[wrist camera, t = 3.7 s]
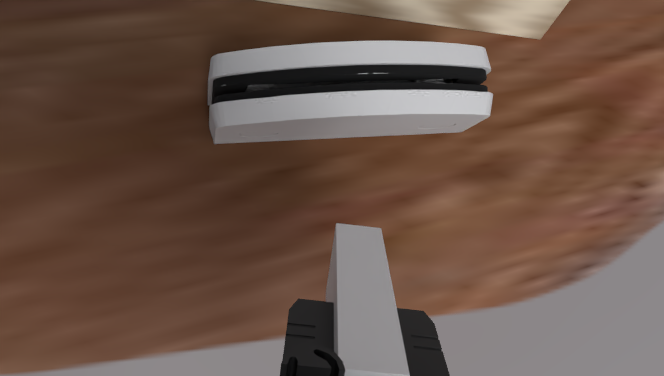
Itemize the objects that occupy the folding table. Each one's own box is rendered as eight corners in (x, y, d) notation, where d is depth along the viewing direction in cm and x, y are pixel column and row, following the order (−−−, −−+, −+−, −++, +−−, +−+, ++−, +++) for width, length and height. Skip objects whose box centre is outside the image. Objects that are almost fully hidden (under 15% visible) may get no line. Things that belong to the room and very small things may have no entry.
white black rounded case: (451, 68, 35) (523, 13, 25) (456, 135, 34) (529, 107, 25) (208, 76, 33) (180, 20, 23) (212, 147, 32) (186, 122, 23)
